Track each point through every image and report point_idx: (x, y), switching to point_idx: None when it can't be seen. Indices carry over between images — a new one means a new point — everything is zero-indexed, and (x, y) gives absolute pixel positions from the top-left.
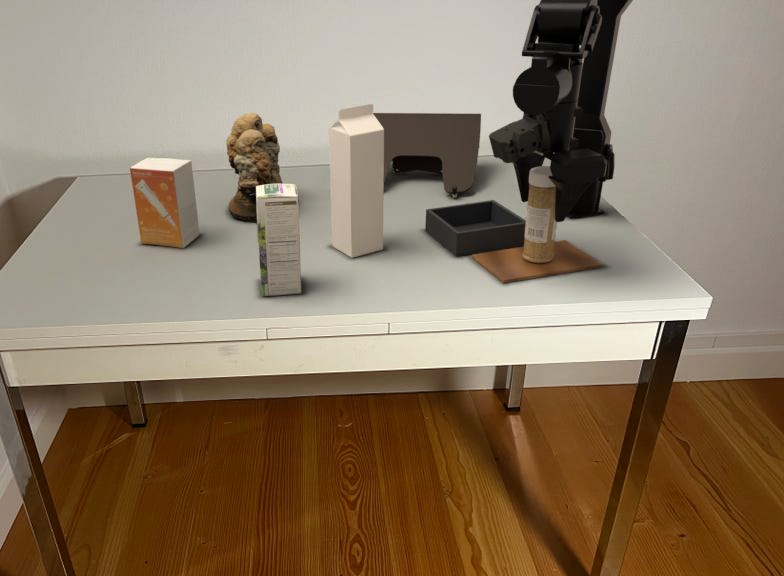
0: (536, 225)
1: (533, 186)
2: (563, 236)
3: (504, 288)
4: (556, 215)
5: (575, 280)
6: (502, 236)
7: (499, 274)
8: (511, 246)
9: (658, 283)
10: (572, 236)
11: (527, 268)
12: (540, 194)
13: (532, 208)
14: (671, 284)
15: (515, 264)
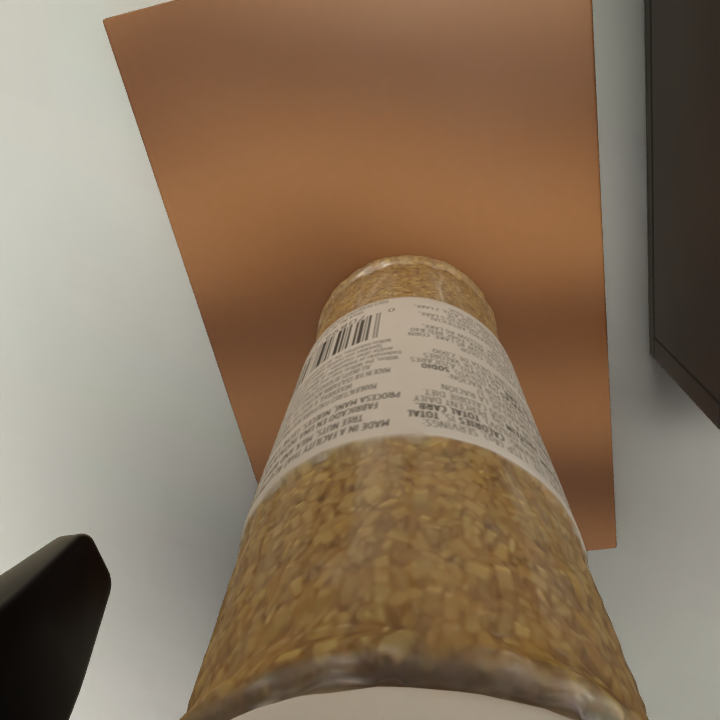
0: (301, 395)
1: (305, 686)
2: (701, 562)
3: (42, 6)
4: (14, 574)
5: (156, 421)
6: (686, 193)
7: (191, 16)
8: (653, 255)
9: (126, 669)
10: (682, 595)
11: (272, 233)
12: (220, 646)
13: (326, 445)
14: (117, 696)
15: (341, 180)
